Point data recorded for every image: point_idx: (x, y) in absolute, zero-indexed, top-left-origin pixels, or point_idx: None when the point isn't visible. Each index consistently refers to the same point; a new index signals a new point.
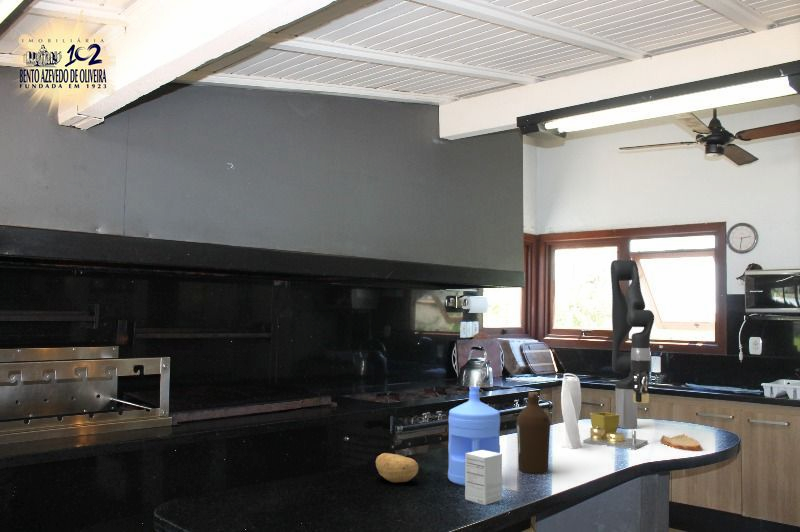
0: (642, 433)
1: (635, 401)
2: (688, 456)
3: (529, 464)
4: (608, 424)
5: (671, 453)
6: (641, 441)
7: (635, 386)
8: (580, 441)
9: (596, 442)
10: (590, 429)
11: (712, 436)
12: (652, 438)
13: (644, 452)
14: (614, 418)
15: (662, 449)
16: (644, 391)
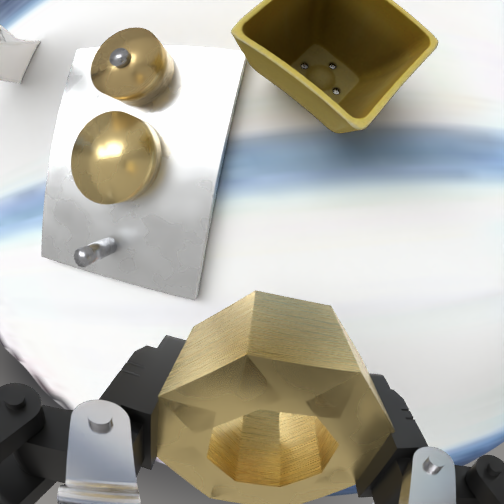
0: (458, 250)
1: (200, 327)
2: (66, 399)
3: None
4: (272, 77)
5: (70, 365)
6: (151, 275)
7: (65, 482)
8: (3, 80)
9: (63, 102)
10: (119, 34)
11: (442, 448)
12: (350, 305)
13: (33, 288)
14: (314, 100)
15: (110, 346)
16: (364, 487)
